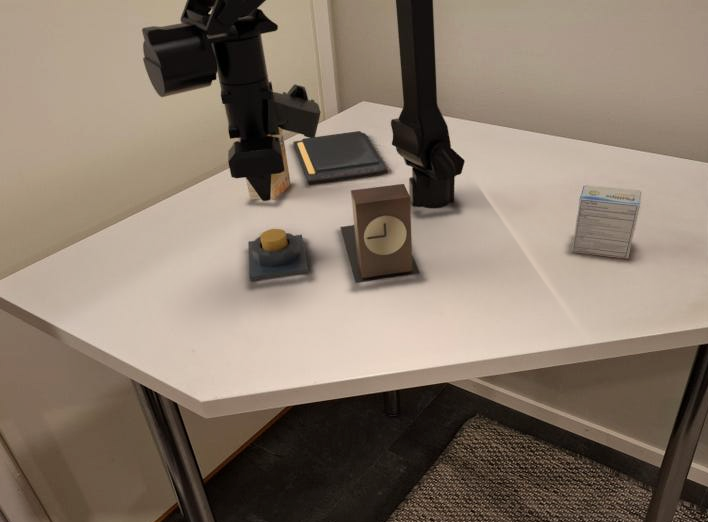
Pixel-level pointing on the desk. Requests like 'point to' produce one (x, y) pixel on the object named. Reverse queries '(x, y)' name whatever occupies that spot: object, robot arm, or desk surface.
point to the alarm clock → (382, 230)
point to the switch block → (277, 259)
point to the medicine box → (606, 221)
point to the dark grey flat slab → (351, 249)
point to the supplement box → (275, 176)
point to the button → (274, 240)
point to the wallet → (338, 157)
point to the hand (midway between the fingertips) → (266, 199)
